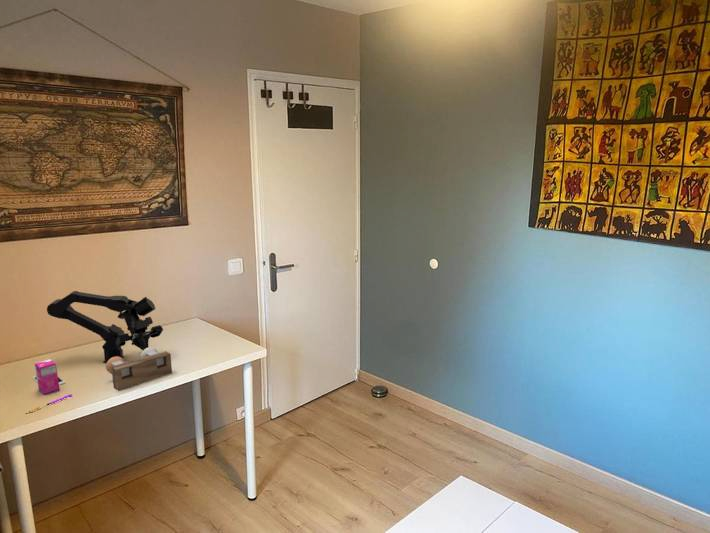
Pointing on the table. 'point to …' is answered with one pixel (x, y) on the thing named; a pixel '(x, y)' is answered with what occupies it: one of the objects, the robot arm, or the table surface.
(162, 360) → the grey plunger
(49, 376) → the supplement box
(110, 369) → the terracotta plunger
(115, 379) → the panel
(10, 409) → the table surface
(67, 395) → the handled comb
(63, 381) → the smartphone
